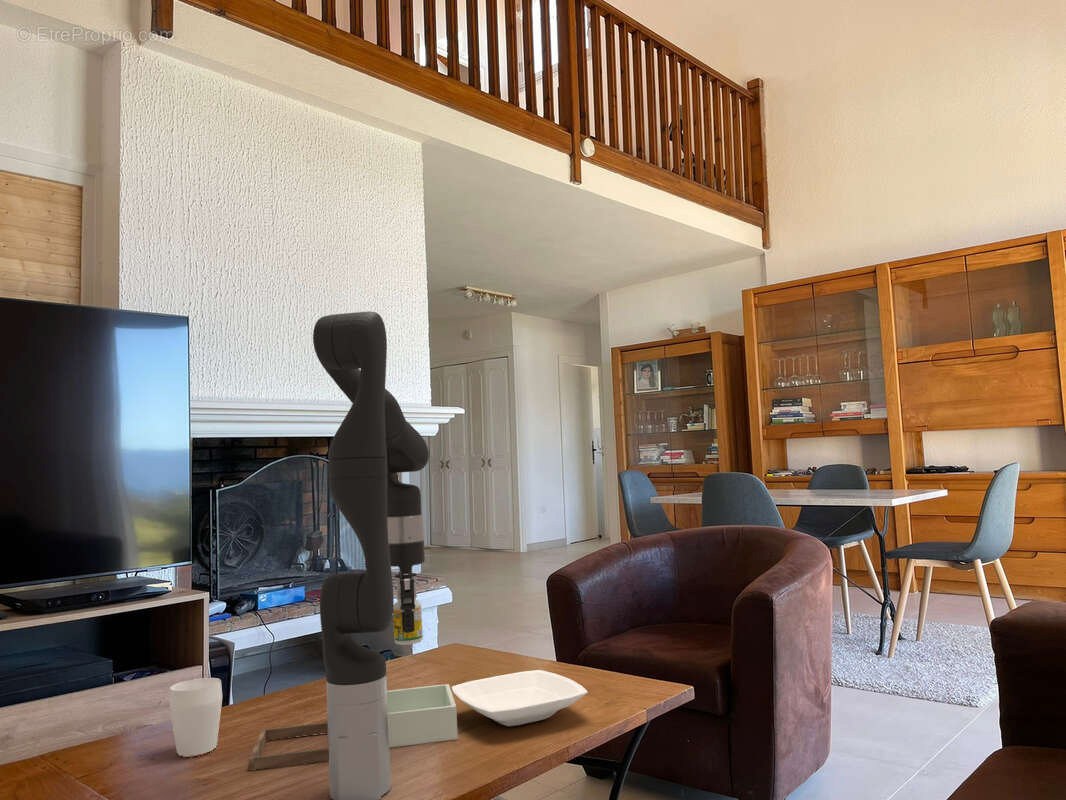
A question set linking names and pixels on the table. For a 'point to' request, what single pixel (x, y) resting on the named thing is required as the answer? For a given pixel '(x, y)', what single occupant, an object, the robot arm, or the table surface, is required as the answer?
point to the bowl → (520, 696)
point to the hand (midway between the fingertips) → (408, 628)
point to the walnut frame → (289, 757)
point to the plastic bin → (421, 715)
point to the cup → (196, 715)
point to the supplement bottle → (399, 635)
